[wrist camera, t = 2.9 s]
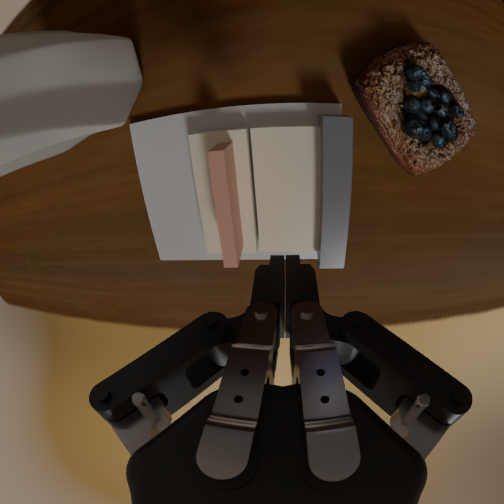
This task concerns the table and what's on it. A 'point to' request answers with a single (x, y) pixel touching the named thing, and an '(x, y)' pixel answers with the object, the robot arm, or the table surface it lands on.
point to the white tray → (255, 179)
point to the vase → (61, 91)
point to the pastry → (415, 106)
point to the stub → (225, 192)
